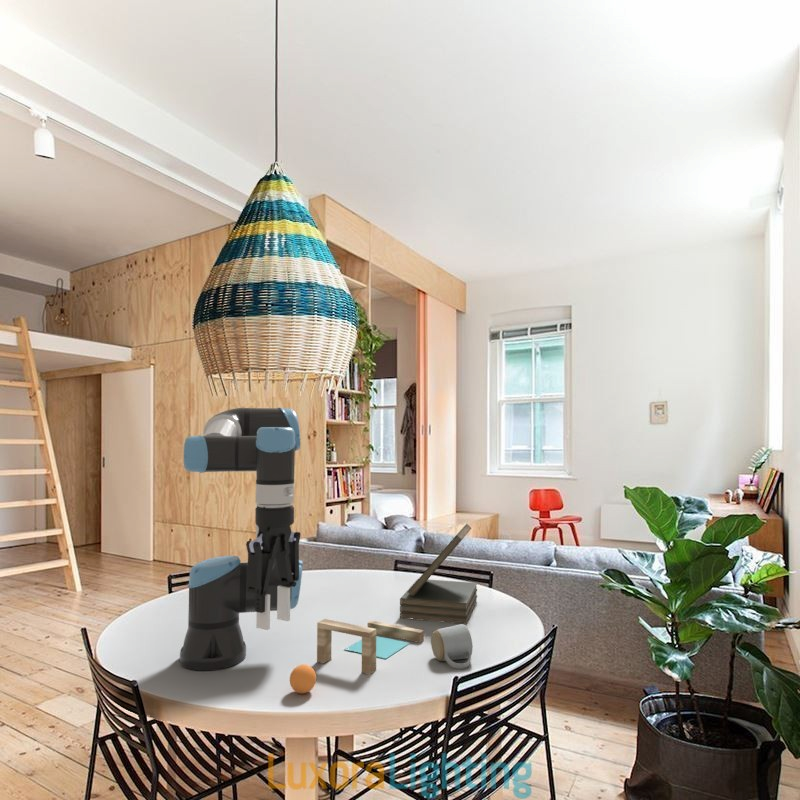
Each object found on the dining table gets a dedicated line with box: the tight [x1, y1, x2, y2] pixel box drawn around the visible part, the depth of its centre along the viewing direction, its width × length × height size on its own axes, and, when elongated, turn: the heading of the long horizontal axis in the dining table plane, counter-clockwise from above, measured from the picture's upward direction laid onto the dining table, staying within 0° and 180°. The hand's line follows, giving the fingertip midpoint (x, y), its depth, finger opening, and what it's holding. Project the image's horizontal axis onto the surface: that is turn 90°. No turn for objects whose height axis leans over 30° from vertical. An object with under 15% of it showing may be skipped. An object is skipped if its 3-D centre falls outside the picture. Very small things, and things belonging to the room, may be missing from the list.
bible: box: [399, 523, 478, 625], centre depth 185 cm, size 23×20×25 cm
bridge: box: [316, 618, 377, 675], centre depth 142 cm, size 3×14×9 cm, turn 61°
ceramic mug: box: [430, 623, 474, 670], centre depth 145 cm, size 11×8×8 cm
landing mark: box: [344, 635, 410, 660], centre depth 154 cm, size 12×12×1 cm
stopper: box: [367, 620, 425, 643], centre depth 162 cm, size 16×2×2 cm, turn 61°
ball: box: [289, 664, 317, 694], centre depth 128 cm, size 6×6×6 cm
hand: (273, 623), depth 120 cm, fingers open, 5 cm apart
